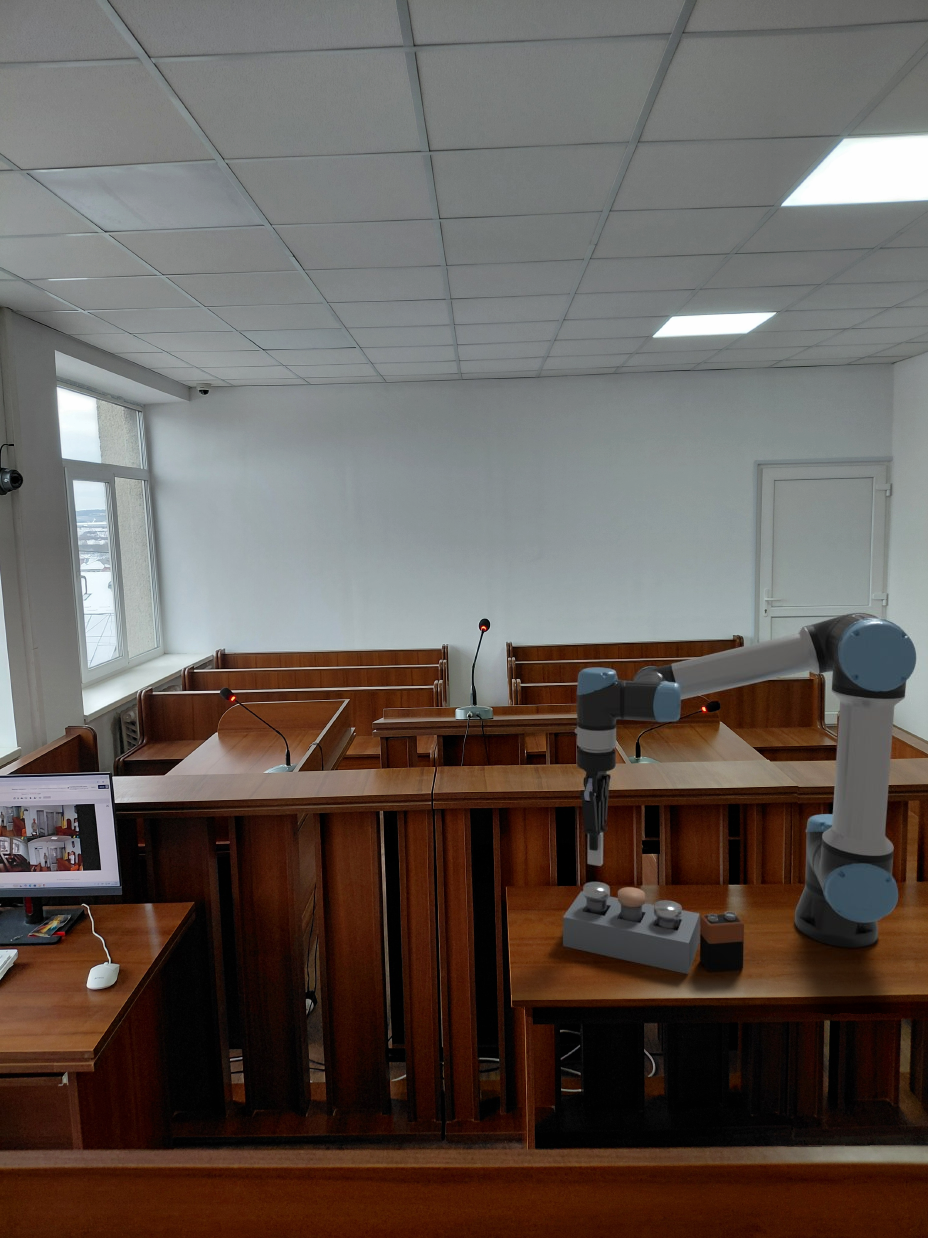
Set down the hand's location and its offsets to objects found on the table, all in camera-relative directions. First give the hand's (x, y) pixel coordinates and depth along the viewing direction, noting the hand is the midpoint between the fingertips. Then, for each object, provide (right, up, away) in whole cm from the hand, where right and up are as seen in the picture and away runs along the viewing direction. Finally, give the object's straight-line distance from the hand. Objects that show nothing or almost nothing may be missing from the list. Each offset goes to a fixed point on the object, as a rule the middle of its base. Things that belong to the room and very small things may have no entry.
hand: (595, 863), depth 154 cm
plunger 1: (0, -11, +1) cm, 12 cm away
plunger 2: (+13, -13, -5) cm, 19 cm away
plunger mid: (+7, -11, -2) cm, 13 cm away
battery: (+22, -16, -9) cm, 29 cm away
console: (+7, -15, -1) cm, 17 cm away
